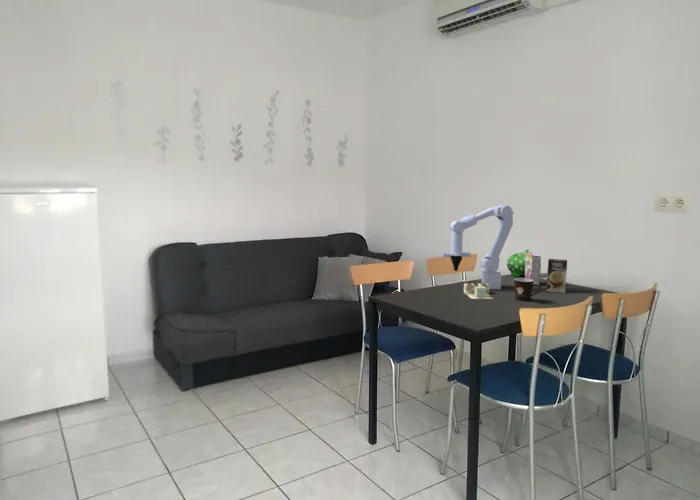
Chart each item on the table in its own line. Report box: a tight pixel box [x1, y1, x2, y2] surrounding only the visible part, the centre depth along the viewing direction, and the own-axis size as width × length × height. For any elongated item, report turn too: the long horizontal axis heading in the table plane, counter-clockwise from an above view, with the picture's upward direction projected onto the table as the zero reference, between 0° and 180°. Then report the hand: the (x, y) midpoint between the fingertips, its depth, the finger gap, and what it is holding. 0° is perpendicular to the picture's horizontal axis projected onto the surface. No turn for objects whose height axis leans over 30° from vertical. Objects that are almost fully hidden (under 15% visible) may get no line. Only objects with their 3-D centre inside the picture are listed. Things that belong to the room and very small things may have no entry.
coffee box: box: [545, 258, 568, 294], centre depth 268 cm, size 9×6×16 cm
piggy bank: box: [506, 249, 542, 278], centre depth 307 cm, size 14×18×15 cm
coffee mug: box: [513, 277, 542, 302], centre depth 246 cm, size 12×9×10 cm
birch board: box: [466, 293, 495, 300], centre depth 257 cm, size 11×15×1 cm
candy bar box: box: [524, 252, 542, 287], centre depth 284 cm, size 11×5×16 cm, turn 179°
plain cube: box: [474, 285, 487, 297], centre depth 253 cm, size 4×4×4 cm
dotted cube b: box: [463, 282, 476, 295], centre depth 260 cm, size 4×4×5 cm
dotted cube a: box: [477, 282, 490, 295], centre depth 260 cm, size 4×4×5 cm
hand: (455, 270), depth 270 cm, fingers closed
